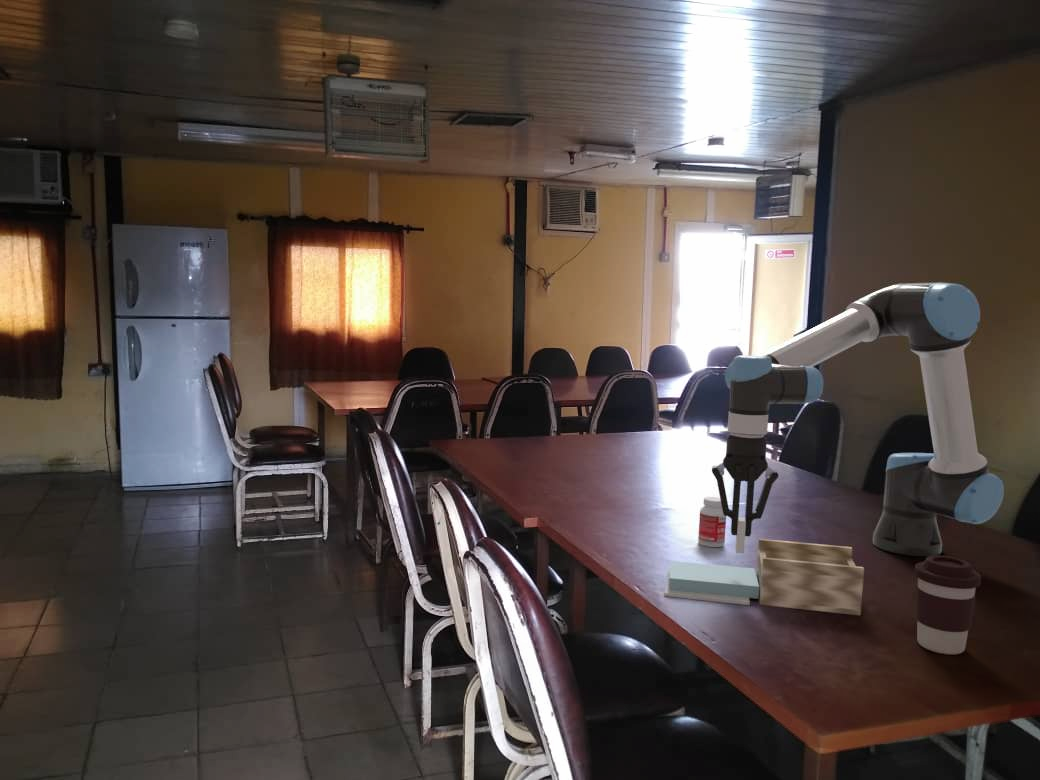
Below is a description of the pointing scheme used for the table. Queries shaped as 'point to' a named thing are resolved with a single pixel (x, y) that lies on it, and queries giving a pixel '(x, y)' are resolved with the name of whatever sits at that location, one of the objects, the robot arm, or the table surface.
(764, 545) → the box
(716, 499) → the pill bottle
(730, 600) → the mat
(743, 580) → the lid
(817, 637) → the table surface
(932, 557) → the coffee cup
